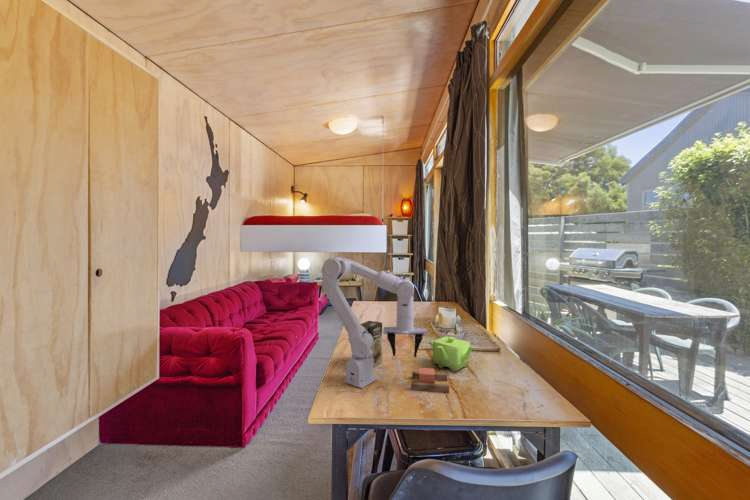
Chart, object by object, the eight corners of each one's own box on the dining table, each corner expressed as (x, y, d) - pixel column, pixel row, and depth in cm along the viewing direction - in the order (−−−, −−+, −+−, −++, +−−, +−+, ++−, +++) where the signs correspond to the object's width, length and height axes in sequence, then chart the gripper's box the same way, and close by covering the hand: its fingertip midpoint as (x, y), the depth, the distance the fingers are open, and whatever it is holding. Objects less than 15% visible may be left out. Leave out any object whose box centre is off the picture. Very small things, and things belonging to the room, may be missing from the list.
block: (419, 387, 110) (419, 373, 110) (419, 380, 115) (419, 367, 115) (434, 388, 110) (434, 374, 109) (433, 381, 115) (434, 368, 114)
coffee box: (370, 370, 123) (370, 327, 122) (355, 367, 127) (356, 325, 126) (382, 362, 131) (383, 322, 130) (368, 359, 134) (369, 319, 134)
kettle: (476, 374, 121) (477, 343, 120) (437, 375, 120) (438, 344, 119) (462, 358, 136) (463, 331, 135) (428, 359, 135) (428, 332, 134)
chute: (411, 390, 108) (411, 384, 108) (412, 376, 118) (412, 371, 118) (449, 392, 106) (449, 386, 106) (446, 379, 116) (446, 373, 116)
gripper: (382, 317, 109) (382, 358, 110) (427, 319, 107) (426, 361, 108) (384, 312, 116) (384, 351, 117) (426, 314, 114) (426, 353, 115)
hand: (404, 355), depth 113 cm, fingers open, 6 cm apart
